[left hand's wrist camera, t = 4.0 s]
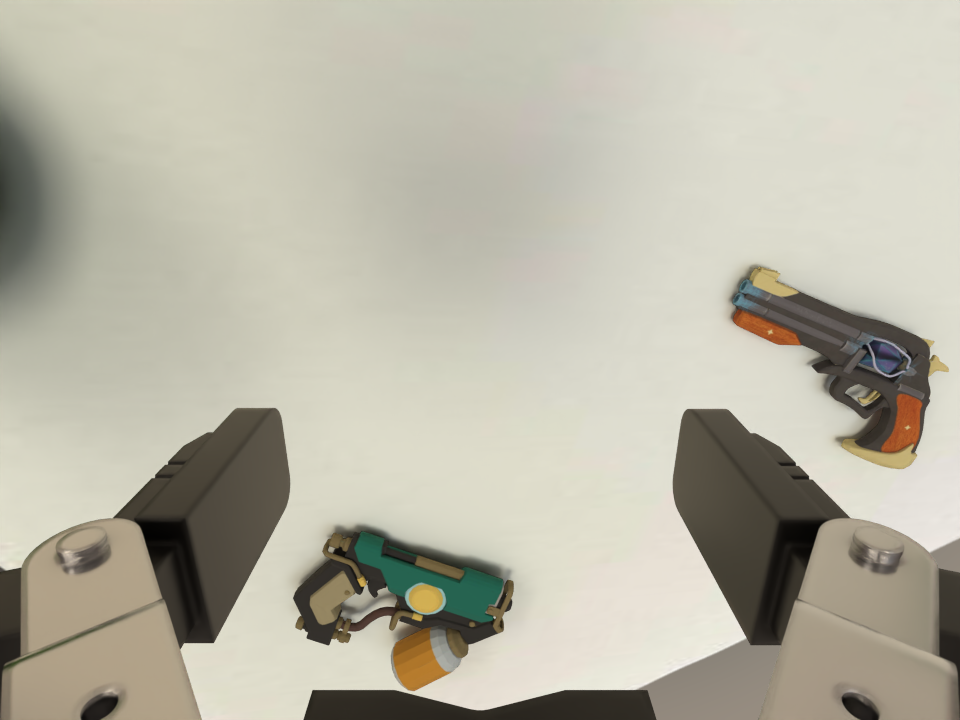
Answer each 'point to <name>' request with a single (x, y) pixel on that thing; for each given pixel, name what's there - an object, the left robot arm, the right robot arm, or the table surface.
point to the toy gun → (850, 361)
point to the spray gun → (404, 604)
